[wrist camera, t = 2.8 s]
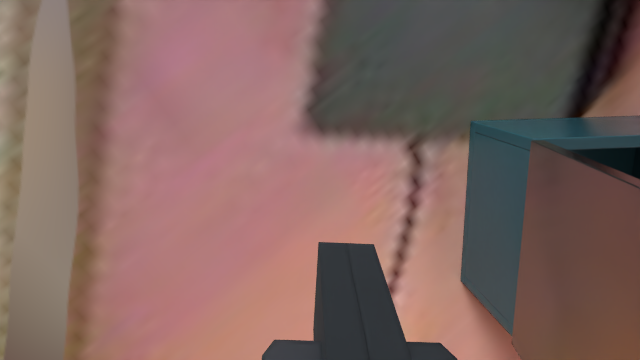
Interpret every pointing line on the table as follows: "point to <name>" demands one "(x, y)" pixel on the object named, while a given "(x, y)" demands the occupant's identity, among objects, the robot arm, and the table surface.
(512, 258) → the teal box
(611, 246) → the box lid
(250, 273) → the table surface
